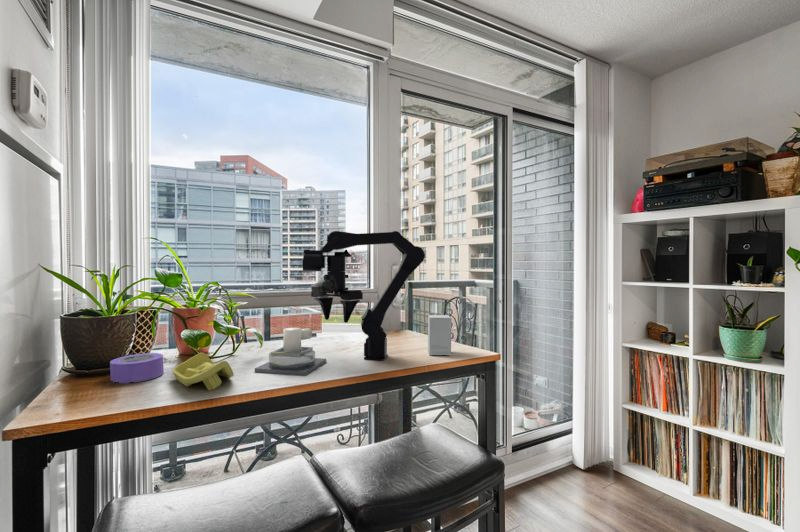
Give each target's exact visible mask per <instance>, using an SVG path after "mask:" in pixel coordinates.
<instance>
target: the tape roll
mask: <svg viewBox="0 0 800 532" xmlns="http://www.w3.org/2000/svg"><path fill="white" fill-rule="evenodd" d="M109 370H110V373H109V375H110V382H111V381H113V382H112V383H114V382H119V383H118V384H130V383H129V382H134V383H139V382H145V381H149V380H152V379H156V378H158V377H161V376H162V375H164V373H165V371H164V355H163V354H162V353H158V352H149V353H148V352H147V353H136V354H130V355H125V356H121V357H117V358H114V359H112V360H110V361H109Z"/></svg>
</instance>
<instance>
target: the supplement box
mask: <svg viewBox="0 0 800 532" xmlns="http://www.w3.org/2000/svg"><path fill="white" fill-rule="evenodd" d="M427 353H428V356H430V355H450V354H451V355H452V317H451V316H450V315H448V314H445V315H444V314H440V315H439V314H433V315H432V314H429V315H428V318H427Z"/></svg>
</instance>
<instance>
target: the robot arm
mask: <svg viewBox="0 0 800 532" xmlns="http://www.w3.org/2000/svg"><path fill="white" fill-rule="evenodd" d="M387 244H388V245H389V244H391V245H393V246H394V247H395V249H397V250H398V251H399V252H400V253H401V254H402V255H403V257H402V258H401V260H400V264H399V267H398V269H397V271H396V272H395V274H394V276H393V277H392V279H391V281H390V282H389V284H388V285H387V287H386V288H385V289H384V291H383V293H382V294H381V296H380V298H379V299H378V300H377V302H376V304H375V305H374V306H373V307H372V308H370V307H369V306H367V308H366V309H365V312H364V314H363V315H362V316H361V317H360V318H361V321H360V325H361V331H362V333H364V334H365V335H366V336H367V338H365V342H364V343H363V356H364V357H363V360H372V361H374V360H375V361H384V360H386V359H387V358H388V357H389V354H388V339H387V338H388V337H387V336H388V334H387V332H386V331H385V329H384V328H383V327H382V324H383V321H384V318H385V316H386V313H387V311H388V309H390V306H391V305H392V303H393V301H394V300H395V298H396V297H397V295H398V293H399V292H400V291H401V289H402V287H403V285H404V284H405V283H406V282H407V279H408V277H409V276H410V275H411V274H412V273H413V272H414V271H415V270H416V269H418V267H419V266H420V265H421V264H422V262H423V261H424V260H425V258H426V255H425V250H424V249H423V248H422V247H421V246H417V245H414V244H413V243H412V242H411V241H410V240H408V239H407V238H405V236H403V235H402V234H401V233H400V232H399V231H398V230H393V231H388V232H385V231H382V232H369V233H368V232H367V233H354V232H348V231H340V230H339V231H338V230H333V231H331V232H330V233H329V234H328V235H327V238H326V243H325V245H324V246H323V247H322V248H321V250H320V249H319V250H318V249H315V250H312V249H303V255H302V260H301V261H302V266H301V267H302V271H303V272H322V271H323V270H322V269H326V274H324V275H323V279H322V280H320V281H317V282H316V283H314V284H312V285H310V288H311V293H310V294H311V295H310V296H311V297H313V300H315V301H317V302H318V303H319V306H320V308H321V310H322V313H323V316H324V320H326V321H327V320H329V319H330V315H331V311H332V305H333V300H334V297H338V298H340V299H341V300H339V303H340V304H341V305H342V308H343V309H342V311H343V312H342V313H343V315H342V316H343V322H344V323H345V324H346V323H348V322H349V320H350V318H351V316H352V314H353V311H354V309H355V308H356V306H357V304H358V303H360V302H361V300H363V299H364V293H363V291H362V290H361V289H349V287H346V282H347V281H346V279H349V274H346V273H347V272H346V271H347V270H346V269H347V268H346V258H351V257H352V254H351V253H350V252H349V251H348V249H349V248H352V247H357V246H371V245H375V246H376V245H387ZM344 249H345V250H344ZM339 250H344V251H339ZM333 251H334V254H331V255H329V254H330V253H331V252H333ZM326 262H327V264H326Z"/></svg>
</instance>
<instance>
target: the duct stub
mask: <svg viewBox="0 0 800 532" xmlns="http://www.w3.org/2000/svg"><path fill="white" fill-rule="evenodd" d="M313 349H314V348H313V346H312V347H311V346H301V352H300V353H286V352H283V346H282V347H279V348H277V349H275V350H273V351H270V352H269V353H268V361H267V362H266V363H263V364H262V365H261V364H260V365H259V366H257V367H255V368H254V373H262V374H263V373H265V374H276V375H277V374H278V375H291V376H307V375H308V374H310V373H312V372H314V371H315V370H316V369H318V368H319V367H321V366H323V365H324V364H325V363H327V358H319V357H318V358H316V351H315V350H313Z"/></svg>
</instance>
